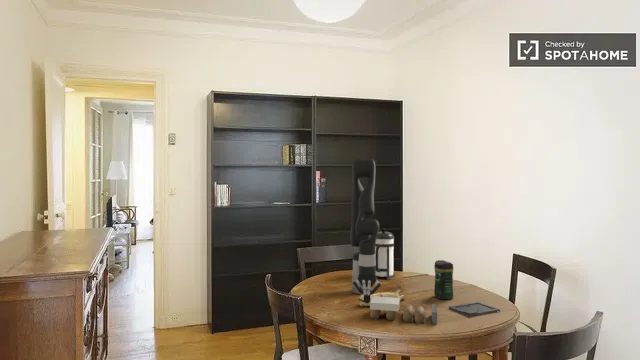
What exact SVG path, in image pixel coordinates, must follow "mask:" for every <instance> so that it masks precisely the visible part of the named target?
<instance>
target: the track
mask: <svg viewBox="0 0 640 360" xmlns="http://www.w3.org/2000/svg"><path fill="white" fill-rule="evenodd" d="M381 312H382V310H372V309H370V313H369V316H370V319H372V320H374V321H375V320H378V319H379V318H380V316H381ZM397 312H398V311H386V315H385V316H386V319H387V320H388V321H389V322H391V321H395V319H397V318H396V317H397ZM402 313H403V314H402V320H403V321H404V323H405V322H406V323H410V322H411V323H412V324H414V321H415V320H414V317H415V311H414V307H413V305H411V304H406V305H405V306H404V309H403V312H402ZM426 315H427V313H426V312H425V311H424V322H423V325H424V324H425V325H426V319H427V318H426Z"/></svg>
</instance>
